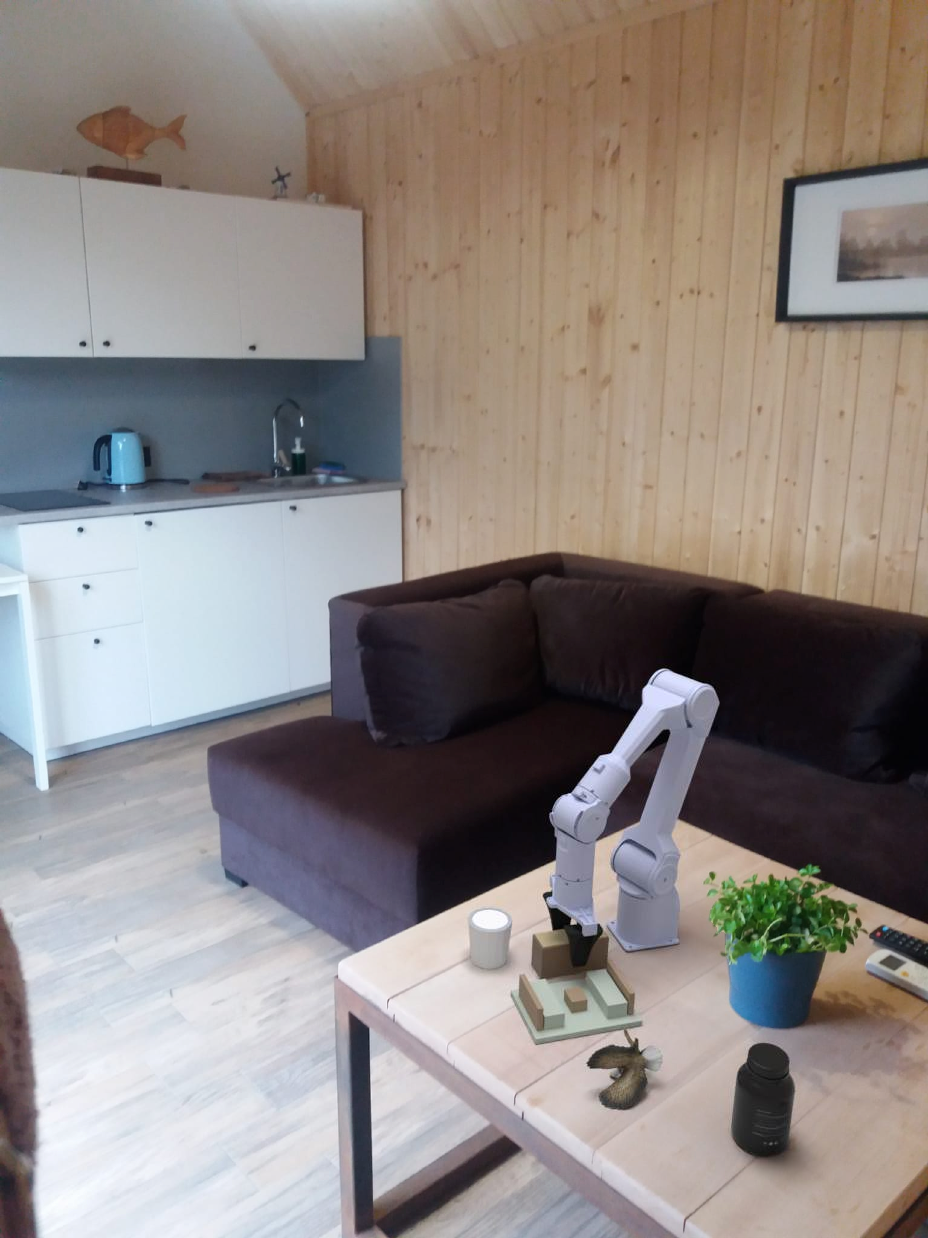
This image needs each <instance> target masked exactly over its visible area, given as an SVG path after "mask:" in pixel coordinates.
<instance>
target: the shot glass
mask: <svg viewBox="0 0 928 1238" xmlns="http://www.w3.org/2000/svg"><path fill="white" fill-rule="evenodd" d="M467 921H468V924H467V925H468V936H469V948H470V949H469V950H470V959H471V962H472V963H473V964H474V965H475V966H477V967H479V968H480V969H485V970H495V969H498V968H501V967H503V966H504V965H505V964H506V963H507V959H508V954H509V953H508V952H509V948H510V947H509V946H510V940H511V939H510V938H511V933H512V932H511V931H512V925H513V919H512V916H511V914H509V913H508V912H507V911H506V910H502V909H500V908H497V907H481V908H478V909H475V910H474V911H472V912H471V913H469V916H468V917H467Z"/></svg>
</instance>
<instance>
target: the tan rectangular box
mask: <svg viewBox="0 0 928 1238" xmlns="http://www.w3.org/2000/svg"><path fill="white" fill-rule="evenodd" d="M531 942H532V943H531V961H530V962H531V967H532V969H533V971H535V974H536V975H537V976H538V978H539V980H541V979H546V980H549V979H555V978H561V977H566V976H570V975H571V976H572V975H576V974H582V973H586V972H591V971H597V970H603V969H607V961H609V960H608V959H609V943H610V937H609V936H608V934H607V932H606V931H605V930H604V929H603V934H602V935H601V936H600V937H599V939H598V940H597V941H596V943H595V944H594V946H593V948H592V950H591V953H590V956H589V958H588V961H587V964H586V966H581V967H575V968H574V967H573V966H572V963H571V959H570V946H569V941H568V937H567V934H566V932H565V930H564V929H560V930H554V931H553V930H551V931H550V930H549V931H544V932H538V933H533V934H532V939H531Z"/></svg>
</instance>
